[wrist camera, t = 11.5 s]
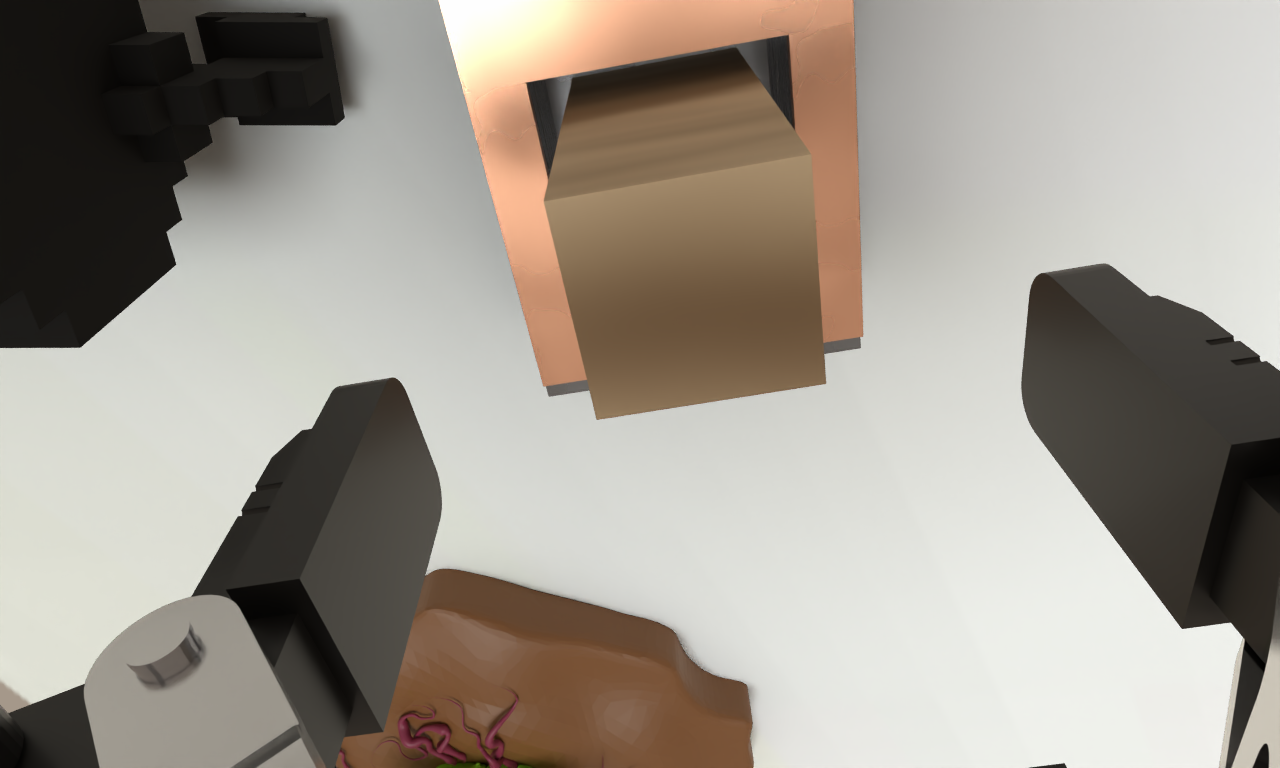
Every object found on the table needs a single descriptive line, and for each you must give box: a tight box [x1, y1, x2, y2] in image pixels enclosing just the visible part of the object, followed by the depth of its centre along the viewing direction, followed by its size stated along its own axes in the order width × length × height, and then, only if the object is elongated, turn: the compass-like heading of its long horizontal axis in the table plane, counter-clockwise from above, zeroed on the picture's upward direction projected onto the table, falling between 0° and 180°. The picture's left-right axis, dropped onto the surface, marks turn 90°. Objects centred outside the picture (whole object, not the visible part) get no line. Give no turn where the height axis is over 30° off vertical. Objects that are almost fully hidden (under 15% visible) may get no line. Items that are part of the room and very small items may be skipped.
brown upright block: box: [544, 47, 826, 420], centre depth 17 cm, size 4×4×9 cm
